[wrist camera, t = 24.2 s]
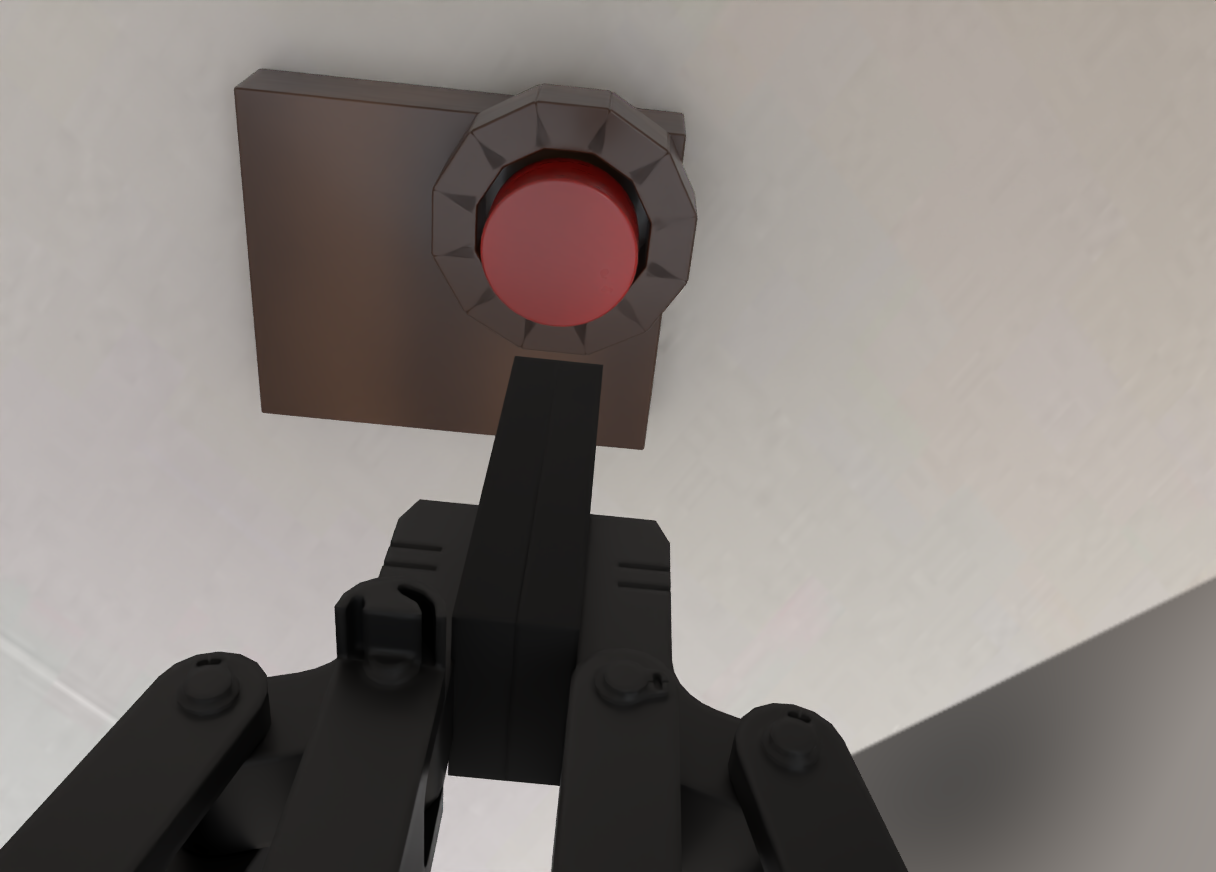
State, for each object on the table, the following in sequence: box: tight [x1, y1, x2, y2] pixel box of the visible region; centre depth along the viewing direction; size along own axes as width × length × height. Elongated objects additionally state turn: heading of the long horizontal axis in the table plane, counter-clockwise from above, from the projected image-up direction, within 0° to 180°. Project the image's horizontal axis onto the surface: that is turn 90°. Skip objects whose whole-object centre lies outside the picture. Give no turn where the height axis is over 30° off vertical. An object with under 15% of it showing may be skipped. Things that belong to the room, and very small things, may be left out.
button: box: [480, 158, 639, 327], centre depth 28 cm, size 4×4×2 cm
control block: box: [234, 69, 697, 450], centre depth 31 cm, size 12×11×4 cm
